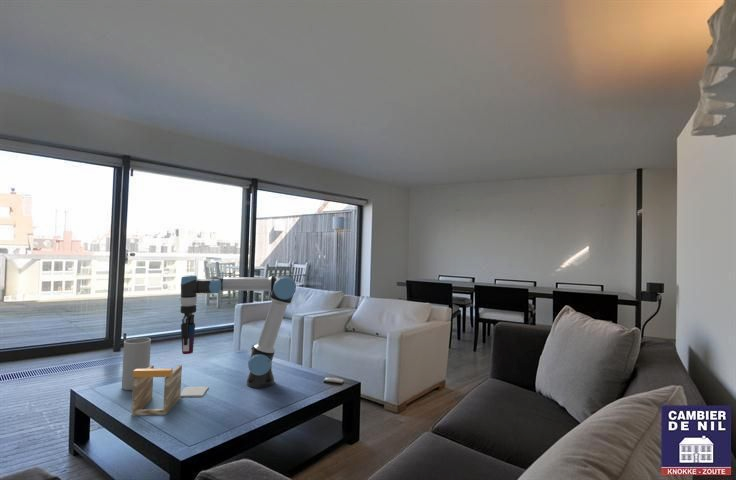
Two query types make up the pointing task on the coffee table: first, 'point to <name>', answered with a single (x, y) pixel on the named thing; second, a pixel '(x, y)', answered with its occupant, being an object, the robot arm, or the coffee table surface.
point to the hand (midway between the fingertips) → (187, 349)
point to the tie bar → (153, 372)
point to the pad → (193, 391)
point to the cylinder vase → (134, 359)
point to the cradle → (144, 393)
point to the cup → (191, 338)
